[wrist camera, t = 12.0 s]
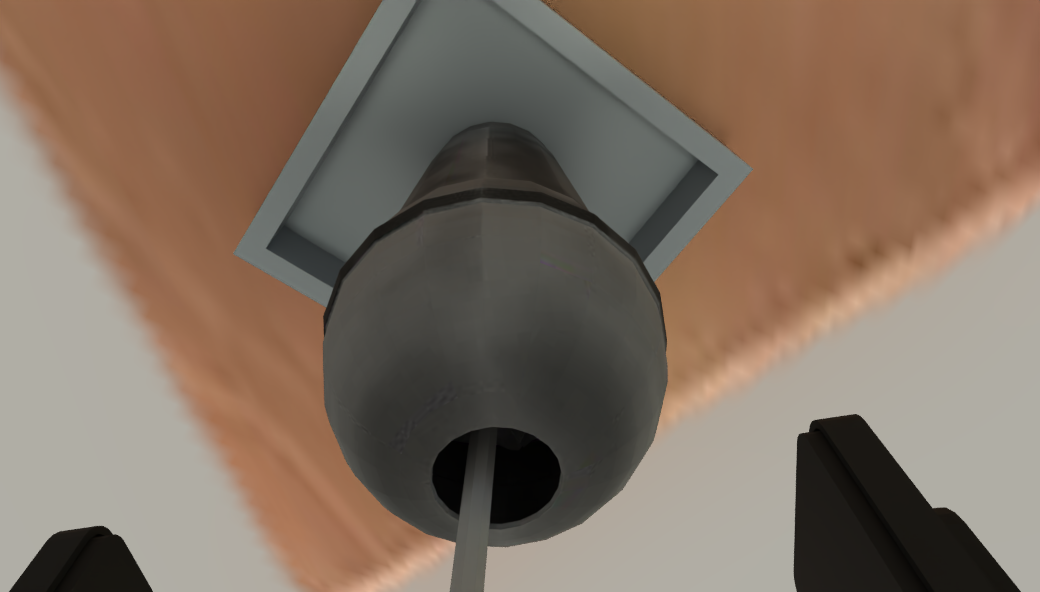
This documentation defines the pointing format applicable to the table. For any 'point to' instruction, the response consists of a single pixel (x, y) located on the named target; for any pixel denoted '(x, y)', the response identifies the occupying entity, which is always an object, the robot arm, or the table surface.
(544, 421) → the beverage cup
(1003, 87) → the table surface
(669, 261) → the tray
